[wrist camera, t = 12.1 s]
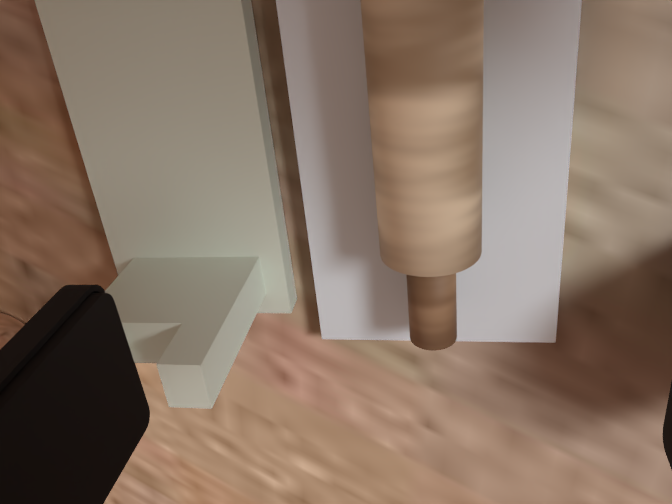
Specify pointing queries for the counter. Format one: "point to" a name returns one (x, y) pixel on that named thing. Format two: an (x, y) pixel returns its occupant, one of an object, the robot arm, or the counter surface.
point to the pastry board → (497, 171)
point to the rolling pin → (427, 149)
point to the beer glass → (8, 328)
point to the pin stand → (178, 175)
